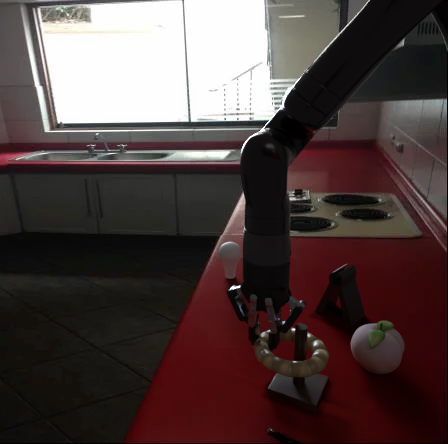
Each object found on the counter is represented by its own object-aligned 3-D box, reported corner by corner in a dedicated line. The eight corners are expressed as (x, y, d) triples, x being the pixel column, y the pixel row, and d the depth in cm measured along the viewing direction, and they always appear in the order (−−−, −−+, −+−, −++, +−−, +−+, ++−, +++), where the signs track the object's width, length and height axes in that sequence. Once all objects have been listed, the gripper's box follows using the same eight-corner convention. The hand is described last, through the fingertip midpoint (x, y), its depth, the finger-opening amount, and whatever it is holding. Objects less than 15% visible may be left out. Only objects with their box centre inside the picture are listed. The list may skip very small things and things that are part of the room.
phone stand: (313, 315, 94) (316, 266, 90) (327, 305, 97) (330, 258, 94) (352, 331, 87) (357, 279, 83) (366, 320, 91) (371, 270, 87)
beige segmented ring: (334, 348, 72) (335, 336, 71) (317, 390, 63) (318, 377, 62) (268, 329, 78) (268, 318, 78) (243, 365, 69) (243, 352, 68)
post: (328, 383, 73) (333, 321, 69) (315, 413, 66) (320, 346, 63) (282, 369, 77) (285, 309, 73) (267, 395, 71) (269, 332, 67)
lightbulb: (217, 284, 111) (216, 246, 107) (220, 274, 116) (220, 237, 113) (240, 286, 109) (240, 247, 106) (243, 276, 115) (243, 239, 111)
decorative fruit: (354, 350, 81) (359, 305, 78) (402, 364, 76) (409, 316, 73) (343, 378, 74) (347, 329, 71) (395, 395, 69) (402, 343, 66)
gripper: (217, 255, 68) (218, 345, 74) (303, 271, 61) (297, 370, 66) (236, 240, 74) (235, 325, 80) (316, 253, 67) (310, 346, 72)
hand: (263, 345), depth 73 cm, fingers closed on beige segmented ring, 2 cm apart
